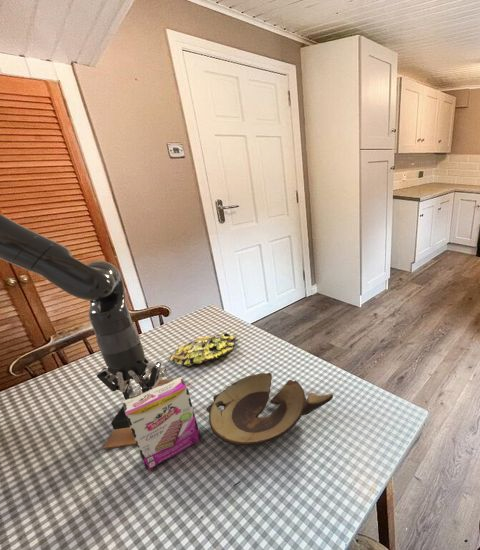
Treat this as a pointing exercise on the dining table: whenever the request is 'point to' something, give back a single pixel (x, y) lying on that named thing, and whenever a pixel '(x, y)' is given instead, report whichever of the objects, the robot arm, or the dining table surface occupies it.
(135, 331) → the robot arm
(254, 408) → the brown shallow dish
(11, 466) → the dining table surface
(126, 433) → the cork mat
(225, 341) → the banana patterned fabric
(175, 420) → the candy bar box
